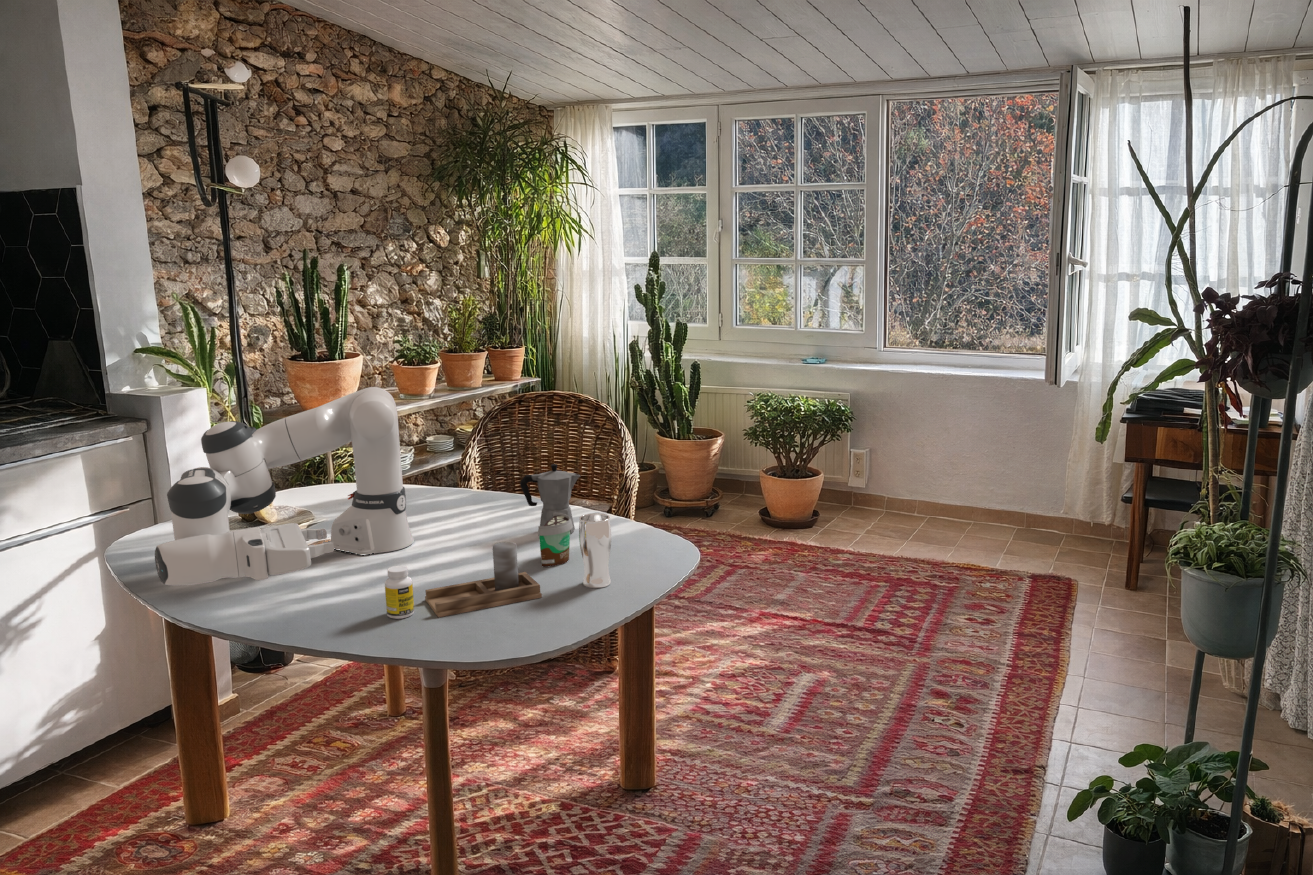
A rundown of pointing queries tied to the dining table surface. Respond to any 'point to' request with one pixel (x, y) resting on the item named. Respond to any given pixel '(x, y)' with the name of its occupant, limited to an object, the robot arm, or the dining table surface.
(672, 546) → the dining table surface
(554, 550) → the food container
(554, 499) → the coffeepot
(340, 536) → the robot arm
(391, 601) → the supplement bottle
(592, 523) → the beer glass
